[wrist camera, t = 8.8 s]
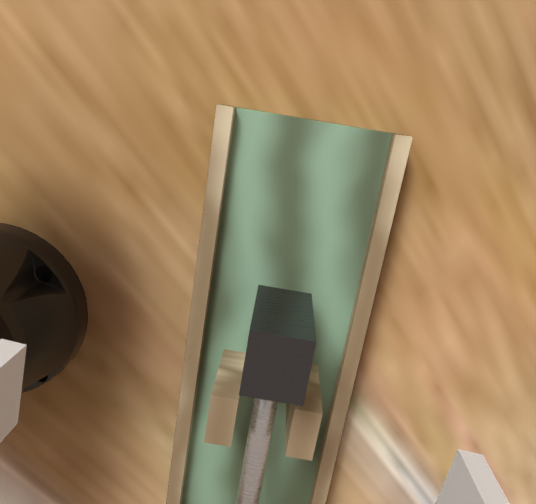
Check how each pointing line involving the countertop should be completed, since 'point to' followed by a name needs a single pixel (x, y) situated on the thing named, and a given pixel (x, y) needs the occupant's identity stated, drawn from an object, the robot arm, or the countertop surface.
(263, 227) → the tray
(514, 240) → the countertop surface
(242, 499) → the hammer
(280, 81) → the countertop surface
